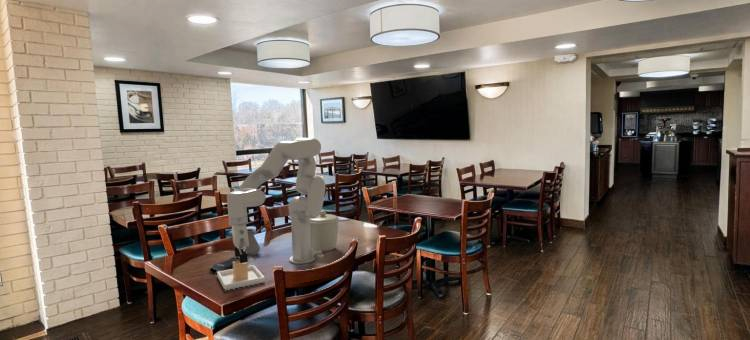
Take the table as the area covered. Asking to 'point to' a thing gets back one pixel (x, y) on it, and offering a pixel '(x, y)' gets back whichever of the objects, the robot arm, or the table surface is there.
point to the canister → (324, 231)
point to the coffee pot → (253, 241)
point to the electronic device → (224, 264)
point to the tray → (230, 283)
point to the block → (240, 271)
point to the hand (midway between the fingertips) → (241, 259)
